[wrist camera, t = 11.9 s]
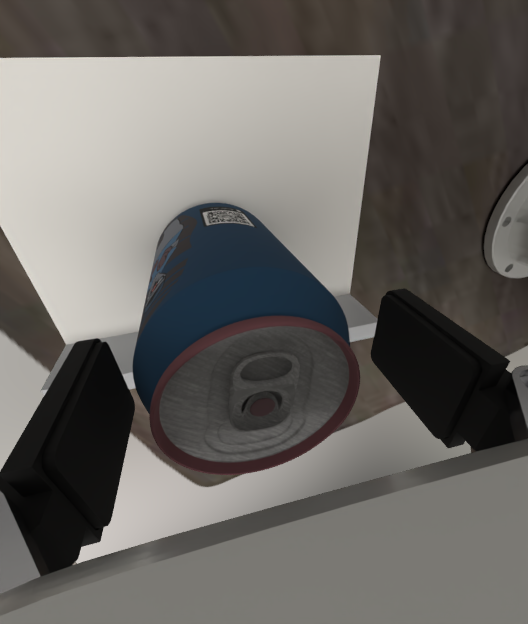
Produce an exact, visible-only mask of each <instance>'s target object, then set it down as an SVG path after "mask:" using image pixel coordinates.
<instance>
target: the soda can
mask: <svg viewBox="0 0 528 624" xmlns="http://www.w3.org/2000/svg"><path fill="white" fill-rule="evenodd" d="M133 379H134V383H135V387H136V390H137V393H138V395H139V397H140V399H141V401H142V403H143V405H144V406H145V408H146V410H147V411H148V413H149V414H150V427H151V431H152V435H153V437H154V439H155V441H156V443H157V445H158V446H159V448H160V449H161V450H162V452H163V453H164V454H165V455H166V456H168V457H169V458H170V459H171V460H173V461H174V462H176V463H178V464H179V465H182V466H184V467H186V468H189V469H191V470H194V471H198V472H202V473H208V474H217V475H236V474H245V473H251V472H257V471H261V470H265V469H269V468H272V467H275V466H278V465H280V464H283V463H285V462H288V461H290V460H292V459H295V458H297V457H299V456H301V455H302V454H304V453H306V452H307V451H309V450H311V449H312V448H314V447H315V446H317V445H318V444H319V443H321V442H322V441H323V440H325V439H326V438H327V437H328V436H330V435H331V434H332V433H333V432H334V431H335V430H336V429H337V428H338V427H339V426H340V425H341V424H342V423H343V421H344V420H345V419H346V417H347V416H348V414H349V413H350V411H351V409H352V407H353V405H354V403H355V400H356V397H357V394H358V390H359V384H360V370H359V365H358V362H357V359H356V357H355V354H354V353H353V351H352V349H351V348H350V338H349V329H348V324H347V320H346V317H345V314H344V312H343V310H342V308H341V306H340V304H339V303H338V301H337V300H336V298H335V297H334V296H333V295H332V294H331V293H330V292H329V291H328V290H327V288H326V287H325V286H324V285H323V284H322V283H321V282H320V281H319V280H318V279H317V278H316V277H315V276H314V275H313V274H312V273H311V272H310V271H309V270H308V269H307V268H306V267H305V266H304V265H303V264H302V263H301V262H300V261H299V260H298V259H297V258H296V257H295V256H294V255H293V254H292V253H291V252H290V251H289V250H288V249H287V248H286V247H285V246H284V245H283V244H282V243H281V242H280V241H279V240H278V239H277V238H276V237H275V236H274V235H273V234H272V233H271V232H270V231H269V230H268V229H267V228H266V227H265V226H264V224H263V223H262V222H261V221H260V220H258V219H257V218H256V217H255V216H254V215H253V214H251V213H250V212H248V211H246V210H244V209H242V208H240V207H237V206H234V205H231V204H226V203H206V204H201V205H197V206H194V207H192V208H189V209H187V210H185V211H184V212H182V213H180V214H179V215H178V216H176V217H175V218H174V219H173V220H172V221H171V222H170V223H169V224H168V225H167V227H166V228H165V229H164V231H163V233H162V234H161V236H160V239H159V241H158V244H157V248H156V252H155V257H154V262H153V266H152V271H151V276H150V281H149V285H148V290H147V295H146V299H145V304H144V309H143V314H142V318H141V323H140V328H139V332H138V337H137V342H136V347H135V351H134V356H133Z"/></svg>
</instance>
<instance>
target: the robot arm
mask: <svg viewBox="0 0 528 624" xmlns="http://www.w3.org/2000/svg"><path fill="white" fill-rule="evenodd" d="M484 254H485V259H486V261H487V264H488V266H489V267H490V268H491V269H492V270H493V271H494V272H496V273H498V274H500V275H503V276H506V277H509V278H523V277H528V164H527V165H526V166H525V167H524V168H523V169H522V170H521V171H520V172H519V173H518V175H517V176H516V177H515V178H514V179H513V180H512V182H511V183H510V184H509V186H508V187H507V189H506V190H505V192H504V193H503V194H502V196H501V198H500V200H499V201H498V203H497V205H496V207H495V209H494V211H493V213H492V216H491V218H490V220H489V223H488V226H487V230H486V234H485V241H484ZM371 358H372V361H373V362H374V364H375V365H376V366H377V367H378V368H379V370H380V371H381V372H382V373H383V375H384V376H385V377H386V378H387V379H388V381H389V382H390V383H391V384H392V386H393V387H394V388H395V389H396V390H397V392H398V393H399V394H400V395H401V397H402V398H403V399H404V400H405V401H406V403H407V404H408V405H409V406H410V407H411V409H412V410H413V411H414V412H415V414H416V415H417V416H418V417H419V419H420V420H421V421H422V422H423V423H424V425H425V426H426V427H427V428H428V430H429V431H430V432H431V433H432V434H433V435H434V436H435V437H436V438H438V439H441V441H442V442H443V443H444V444H445V445H446V447H447V448H451V447H455V446H459V445H463V444H464V442H465V441H466V442H467V443H468V444H469V445H470V446H471V453H470V454H466V455H463V456H459V457H455V458H451V459H448V460H444V461H440V462H436V463H433V464H429V465H425V466H421V467H418V468H414V469H410V470H406V471H403V472H399V473H396V474H392V475H388V476H385V477H381V478H377V479H373V480H370V481H366V482H362V483H359V484H355V485H352V486H348V487H344V488H341V489H337V490H333V491H330V492H326V493H322V494H319V495H316V496H312V497H308V498H305V499H301V500H297V501H294V502H290V503H286V504H283V505H279V506H275V507H272V508H268V509H265V510H262V511H258V512H254V513H251V514H247V515H243V516H240V517H236V518H233V519H229V520H225V521H222V522H219V523H215V524H211V525H208V526H204V527H200V528H197V529H194V530H190V531H187V532H183V533H179V534H176V535H172V536H168V537H165V538H161V539H158V540H155V541H151V542H148V543H145V544H141V545H138V546H135V547H131V548H128V549H125V550H121V551H118V552H115V553H111V554H108V555H105V556H101V557H98V558H95V559H91V560H88V561H85V562H81V563H79V564H77V563H76V560H77V559H78V556H79V553H80V550H81V547H82V546H86V545H89V544H93V543H97V542H100V540H101V536H102V532H103V527H105V526H108V524H109V523H110V521H111V517H112V513H113V509H114V504H115V499H116V495H117V490H118V486H119V481H120V476H121V472H122V467H123V462H124V458H125V453H126V448H127V444H128V439H129V434H130V430H131V425H132V420H133V416H134V411H135V404H134V400H133V397H132V395H131V393H130V391H129V388H128V386H127V384H126V382H125V380H124V377H123V375H122V373H121V371H120V369H119V366H118V364H117V362H116V360H115V357H114V355H113V353H112V351H111V349H110V346H109V344H108V343H107V342H102V341H101V340H100V339H98V338H95V339H89V340H83V341H78V342H76V343H75V344H74V346H73V347H72V349H71V351H70V352H69V354H68V356H67V358H66V359H65V361H64V363H63V365H62V366H61V368H60V370H59V371H58V373H57V375H56V377H55V378H54V380H53V382H52V383H51V385H50V387H49V389H48V390H47V392H46V394H45V395H44V397H43V399H42V401H41V402H40V404H39V406H38V408H37V409H36V411H35V413H34V414H33V416H32V418H31V420H30V421H29V423H28V425H27V426H26V428H25V430H24V432H23V433H22V435H21V437H20V438H19V440H18V442H17V444H16V445H15V447H14V449H13V451H12V452H11V454H10V456H9V457H8V459H7V461H6V463H5V464H4V466H3V468H2V469H1V472H0V624H528V366H519V367H517V368H515V369H514V370H513V371H512V373H510V372H508V371H507V370H506V368H507V366H508V364H509V362H510V361H509V360H508V359H507V358H505V357H504V356H502V355H501V354H499V353H498V352H496V351H495V350H494V349H492V348H491V347H489V346H488V345H486V344H485V343H483V342H482V341H481V340H479V339H478V338H476V337H475V336H473V335H472V334H470V333H469V332H468V331H466V330H465V329H463V328H462V327H460V326H459V325H457V324H456V323H455V322H453V321H452V320H450V319H449V318H447V317H446V316H444V315H443V314H442V313H440V312H439V311H437V310H436V309H434V308H433V307H431V306H430V305H429V304H427V303H426V302H424V301H423V300H421V299H420V298H418V297H417V296H416V295H414V294H413V293H411V292H410V291H408V290H407V289H398V290H392V291H388V292H387V293H386V295H385V296H383V298H382V300H381V305H380V310H379V315H378V320H377V325H376V330H375V335H374V340H373V345H372V350H371Z"/></svg>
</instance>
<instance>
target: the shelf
mask: <svg viewBox="0 0 528 624" xmlns="http://www.w3.org/2000/svg"><path fill="white" fill-rule="evenodd" d="M380 57H381V55H350V56H213V57H76V58H0V226H1V228H2V230H3V232H4V233H5V235H6V237H7V239H8V241H9V242H10V244H11V246H12V248H13V250H14V251H15V253H16V255H17V257H18V258H19V260H20V262H21V264H22V266H23V267H24V269H25V271H26V273H27V275H28V276H29V278H30V280H31V282H32V284H33V285H34V287H35V289H36V291H37V293H38V294H39V296H40V298H41V300H42V302H43V303H44V305H45V307H46V309H47V311H48V312H49V314H50V316H51V318H52V320H53V321H54V323H55V325H56V327H57V329H58V330H59V332H60V334H61V336H62V338H63V339H64V341H65V343H66V346H65V348H64V350H63V352H62V353H61V355H60V357H59V359H58V361H57V362H56V364H55V366H54V368H53V369H52V371H51V373H50V375H49V377H48V379H47V380H46V382H45V384H44V386H43V387H42V389H41V392H42V394H43V395H45V394H46V392H47V390H48V389H49V387H50V385H51V383H52V382H53V380H54V378H55V377H56V375H57V373H58V371H59V370H60V368H61V366H62V365H63V363H64V361H65V359H66V358H67V356H68V354H69V352H70V351H71V349H72V347H73V346H74V344H75V343H76V342H78V341H83V340H89V339H95V338H98V339H100V340H101V341H102V342H107V343H108V344H109V346H110V349H111V351H112V353H113V355H114V357H115V360H116V362H117V364H118V366H119V369H120V371H121V373H122V375H123V377H124V380H125V382H126V384H127V386H128V388H129V389H133V388H136V387H135V383H134V379H133V356H134V351H135V347H136V342H137V337H138V332H139V328H140V323H141V318H142V314H143V309H144V304H145V299H146V295H147V290H148V285H149V281H150V276H151V271H152V266H153V262H154V257H155V252H156V248H157V244H158V241H159V239H160V236H161V234H162V233H163V231H164V229H165V228H166V227H167V225H168V224H169V223H170V222H171V221H172V220H173V219H174V218H175V217H176V216H178V215H179V214H180V213H182V212H184V211H185V210H187V209H189V208H192V207H194V206H197V205H201V204H206V203H226V204H231V205H234V206H237V207H240V208H242V209H244V210H246V211H248V212H250V213H251V214H253V215H254V216H255V217H256V218H257V219H258V220H260V221H261V222H262V223H263V224H264V226H265V227H266V228H267V229H268V230H269V231H270V232H271V233H272V234H273V235H274V236H275V237H276V238H277V239H278V240H279V241H280V242H281V243H282V244H283V245H284V246H285V247H286V248H287V249H288V250H289V251H290V252H291V253H292V254H293V255H294V256H295V257H296V258H297V259H298V260H299V261H300V262H301V263H302V264H303V265H304V266H305V267H306V268H307V269H308V270H309V271H310V272H311V273H312V274H313V275H314V276H315V277H316V278H317V279H318V280H319V281H320V282H321V283H322V284H323V285H324V286H325V287H326V288H327V290H328V291H329V292H330V293H331V294H332V295H333V296H334V297H335V298H336V300H337V301H338V303H339V304H340V306H341V308H342V310H343V312H344V314H345V317H346V320H347V324H348V329H349V338H350V342H353V341H357V340H362V339H367V338H371V337H374V335H375V330H376V325H377V320H378V319H377V318H376V317H375V316H374V315H373V314H371V313H370V312H369V311H368V310H367V309H366V308H365V307H364V306H363V305H361V304H360V303H359V302H358V301H357V300H356V299H355V298H354V297H353V296H352V295H350V288H351V281H352V273H353V265H354V257H355V250H356V242H357V234H358V227H359V219H360V211H361V204H362V196H363V188H364V181H365V173H366V165H367V157H368V150H369V142H370V134H371V127H372V119H373V111H374V104H375V96H376V88H377V80H378V73H379V65H380Z"/></svg>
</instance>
